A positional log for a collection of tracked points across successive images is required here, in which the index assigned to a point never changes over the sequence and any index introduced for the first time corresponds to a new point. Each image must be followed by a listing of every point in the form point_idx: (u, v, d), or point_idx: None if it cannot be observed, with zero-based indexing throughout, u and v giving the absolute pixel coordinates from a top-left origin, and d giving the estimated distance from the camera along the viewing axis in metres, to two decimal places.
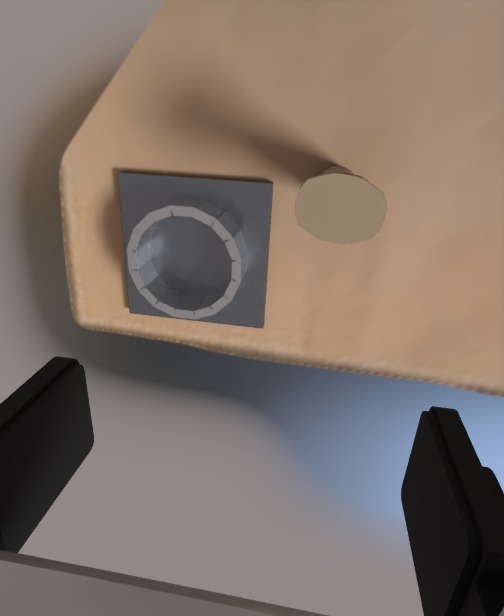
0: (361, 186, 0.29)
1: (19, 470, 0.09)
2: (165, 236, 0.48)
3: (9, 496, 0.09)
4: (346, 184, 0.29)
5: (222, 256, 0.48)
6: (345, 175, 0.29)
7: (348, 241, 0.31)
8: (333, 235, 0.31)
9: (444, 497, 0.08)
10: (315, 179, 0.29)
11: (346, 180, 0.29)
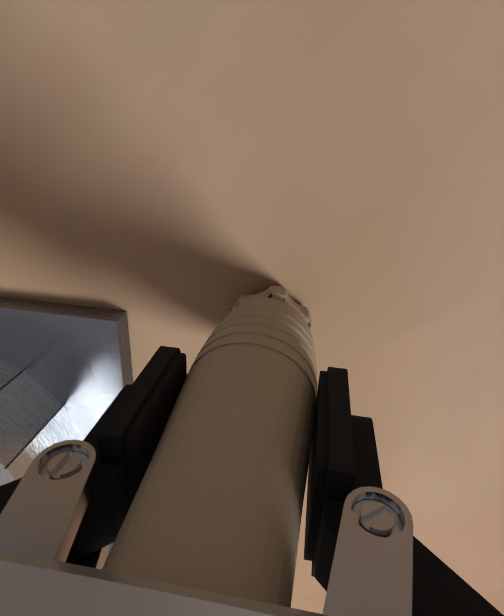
0: None
1: (149, 449, 0.10)
2: None
3: (143, 472, 0.10)
4: None
5: None
6: None
7: None
8: None
9: (317, 436, 0.10)
10: None
11: None
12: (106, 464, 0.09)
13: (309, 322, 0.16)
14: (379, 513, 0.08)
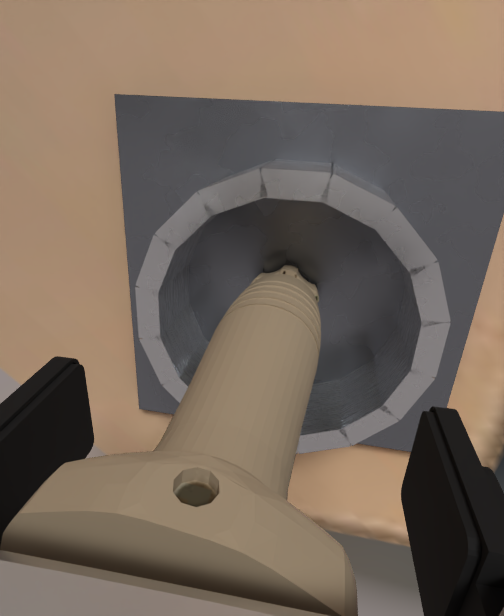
0: (240, 574, 0.06)
1: (19, 470, 0.09)
2: None
3: (9, 496, 0.09)
4: (174, 555, 0.06)
5: (295, 227, 0.19)
6: (165, 526, 0.06)
7: None
8: None
9: (444, 497, 0.08)
10: (48, 518, 0.07)
11: (172, 545, 0.06)
12: None
13: (316, 296, 0.19)
14: None
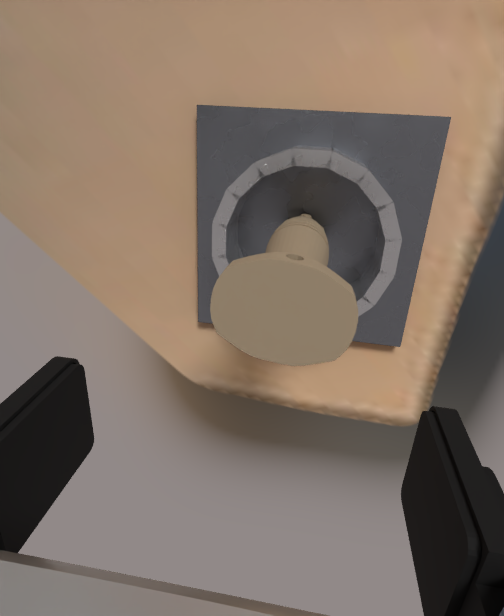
0: (315, 280, 0.17)
1: (19, 470, 0.09)
2: None
3: (9, 496, 0.09)
4: (290, 276, 0.17)
5: (309, 189, 0.30)
6: (288, 263, 0.17)
7: (298, 362, 0.19)
8: (274, 352, 0.19)
9: (444, 497, 0.08)
10: (239, 267, 0.18)
11: (290, 271, 0.17)
12: None
13: (323, 231, 0.30)
14: None
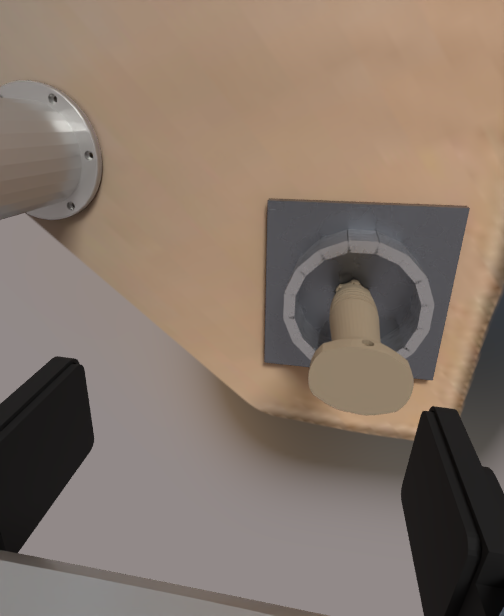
0: (384, 360, 0.25)
1: (19, 470, 0.09)
2: None
3: (9, 496, 0.09)
4: (366, 357, 0.25)
5: (357, 260, 0.38)
6: (365, 349, 0.25)
7: (370, 412, 0.27)
8: (352, 406, 0.27)
9: (444, 497, 0.08)
10: (330, 352, 0.26)
11: (366, 354, 0.25)
12: None
13: None
14: None
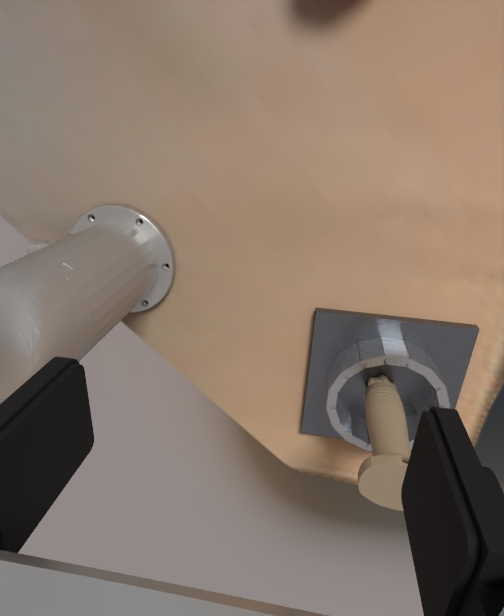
0: None
1: (19, 470, 0.09)
2: (361, 407, 0.50)
3: (9, 496, 0.09)
4: (404, 473, 0.34)
5: None
6: (404, 467, 0.34)
7: None
8: (390, 503, 0.36)
9: (444, 497, 0.08)
10: (378, 466, 0.34)
11: (405, 470, 0.34)
12: None
13: (395, 389, 0.47)
14: None
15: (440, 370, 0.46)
